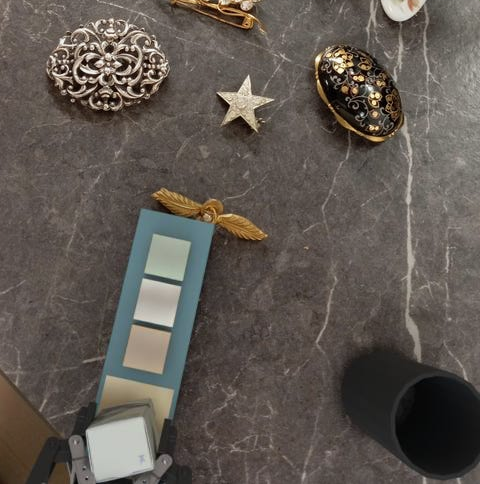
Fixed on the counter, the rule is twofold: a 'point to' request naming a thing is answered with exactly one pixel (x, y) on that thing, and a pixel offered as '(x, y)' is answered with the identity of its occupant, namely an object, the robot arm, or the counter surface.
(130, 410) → the box
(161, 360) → the block line
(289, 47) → the counter surface
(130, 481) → the robot arm
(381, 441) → the vase
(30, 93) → the counter surface
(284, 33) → the counter surface
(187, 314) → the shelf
